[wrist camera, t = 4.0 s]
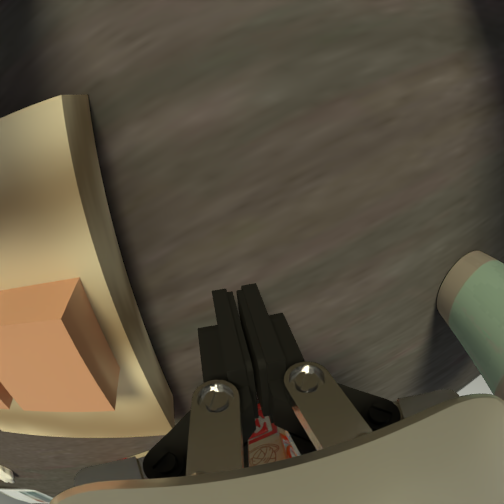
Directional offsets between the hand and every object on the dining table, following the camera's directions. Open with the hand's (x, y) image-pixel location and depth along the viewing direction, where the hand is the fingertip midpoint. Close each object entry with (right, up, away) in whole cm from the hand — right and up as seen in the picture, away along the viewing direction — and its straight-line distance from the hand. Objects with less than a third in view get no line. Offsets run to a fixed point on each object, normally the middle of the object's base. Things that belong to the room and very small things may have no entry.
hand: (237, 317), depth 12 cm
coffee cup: (+17, 0, +8) cm, 18 cm away
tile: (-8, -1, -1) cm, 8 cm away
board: (-12, 0, +1) cm, 12 cm away
